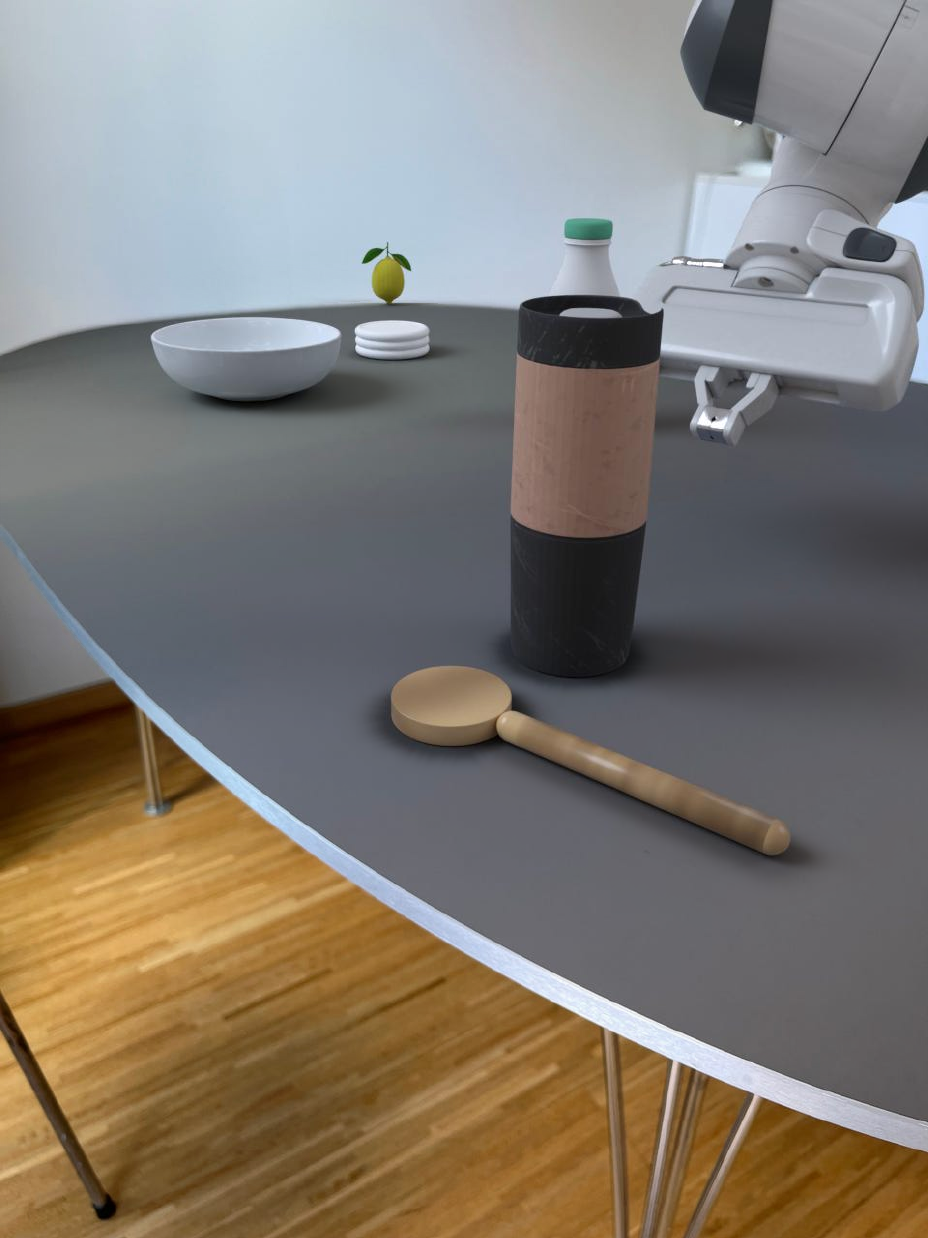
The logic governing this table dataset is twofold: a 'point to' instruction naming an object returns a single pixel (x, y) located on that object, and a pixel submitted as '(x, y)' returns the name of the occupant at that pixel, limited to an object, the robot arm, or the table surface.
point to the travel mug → (580, 478)
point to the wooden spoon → (563, 750)
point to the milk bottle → (586, 259)
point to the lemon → (387, 274)
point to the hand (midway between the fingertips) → (711, 437)
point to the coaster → (392, 340)
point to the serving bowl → (247, 355)
